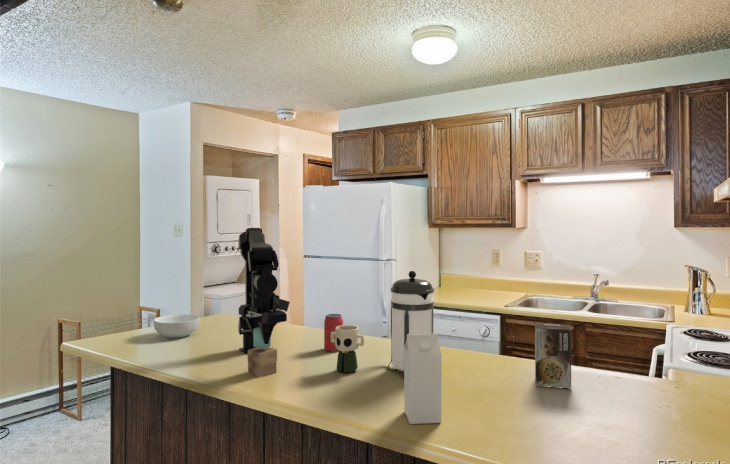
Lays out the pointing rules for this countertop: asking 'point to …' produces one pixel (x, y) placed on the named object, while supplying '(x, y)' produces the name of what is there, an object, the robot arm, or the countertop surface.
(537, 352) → the cookie box
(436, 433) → the countertop surface
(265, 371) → the bottom slab
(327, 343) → the beer can
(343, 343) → the character mug
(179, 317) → the cereal bowl
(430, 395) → the milk carton
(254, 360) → the stepped brown block
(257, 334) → the teal rounded cylinder
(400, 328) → the coffee press
